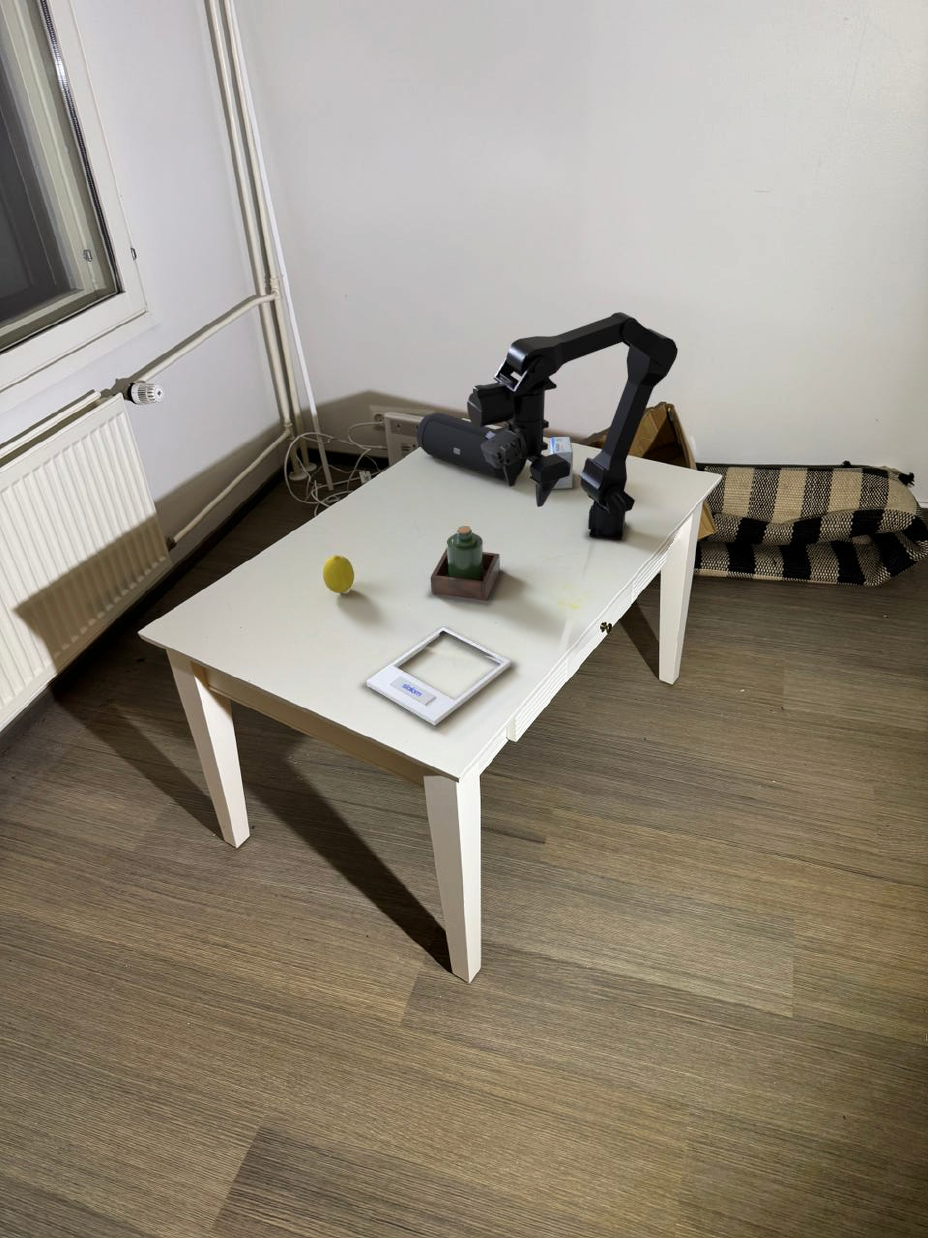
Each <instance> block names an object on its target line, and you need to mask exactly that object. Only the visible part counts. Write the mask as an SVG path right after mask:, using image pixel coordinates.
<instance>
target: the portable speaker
mask: <svg viewBox="0 0 928 1238" xmlns="http://www.w3.org/2000/svg"><path fill="white" fill-rule="evenodd" d="M416 429H417V430H416V441H417V444H418V446H419V447H420V449H421V450H423V452H425V453H426V454H427V455H429V456H432V457H435V458H436V459H437V458H438V459H441V460H444V461H446V462H450V463H452V464H455V465H458V466H461V467H463V468H466V469H470V470H472V471H475V472H478V473H481V474H484V475H487V476H489V477H493V478H496V479H499V480H500V481H501V480H507V479H506V476H505V473H504V469H503V467H502V468H495V467H494V466H493V465H492V464H490V463H489V462H486V460H485V457H484V454H483V452H482V449H481V445H482V444H483V443H484V442H485V441H486V439H485V437H486V435H487V434H488V432H489V431H491V430H494V429H495V428H492V427H488V426H483V427H478V428H476V427H474V426H473V424H472V423H471V421H470V420H466V419H463V418H460V417H457V416H453V415H450V414H446V413H444V412H435V413H430V414H427V415H425V416H424V417H423V418H422V419H421V420H420V422H419V424H418V426H417V428H416ZM527 461H528V460H527V459H526V458H521V462H520V467H519V471H518V475H517V477H518V476H520V475H521V474H522V472H523V471H524V469H525V466H526V464H527Z"/></svg>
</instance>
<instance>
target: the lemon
mask: <svg viewBox="0 0 928 1238" xmlns="http://www.w3.org/2000/svg"><path fill="white" fill-rule="evenodd" d="M322 579H323V583H324V585H325V586H326V588H327V589H328V590H330V591H331V592H333V593H337V594H343V593H345V592H348V591H349V590H350V589H351V588H352V587H353V585H354V580H355V571H354V567H353V565H352V563H351V562H350V560H349V559H348V558H347V557H345V556H344V555H343V556H342V555H333V556H331V557H329V558H328V559H327V560H326V561H325V562H324V565H323V568H322Z"/></svg>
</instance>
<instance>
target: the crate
mask: <svg viewBox="0 0 928 1238" xmlns="http://www.w3.org/2000/svg"><path fill="white" fill-rule="evenodd" d="M500 557H501V554H500V553H496V552H495V553H494V552H488V551H483V572H484V580H483V582H482V581H476V580H468V579H460V578H452V577H449V575H448V556H447V547H446V548H445V550H444V552H443V553H442V555H441V557H440V559H439V561H438V563H437V564H436V566H435V568H434V569H433V572H432V574H431V575H430V589H431V594H432V595H439V596H440V595H441V596H448V597H455V598H461V599H462V598H463V599H470V600H476V601H477V600H478V601H487V600H488V598H489V595H490V594H491V592H492V589H493V587H494V585H495V582H496V580H497V578H498V575H499V573H500V571H501V560H500V559H501V558H500Z"/></svg>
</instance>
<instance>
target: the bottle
mask: <svg viewBox="0 0 928 1238" xmlns="http://www.w3.org/2000/svg"><path fill="white" fill-rule="evenodd" d="M446 548H447V556H448V575H449V577H452V578H460V579H468V580H476V581H482V582H483V580H484V572H483V552H484V541H483V538H482V537H481V536H480V535H478V534H477V533H474V532H472V529H471V527H470V526H468V525H462V526H459V527H458V528H457V530H456V532H455V533H454V534H452V535H450V536H449V537H448V538H447V540H446Z"/></svg>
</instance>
